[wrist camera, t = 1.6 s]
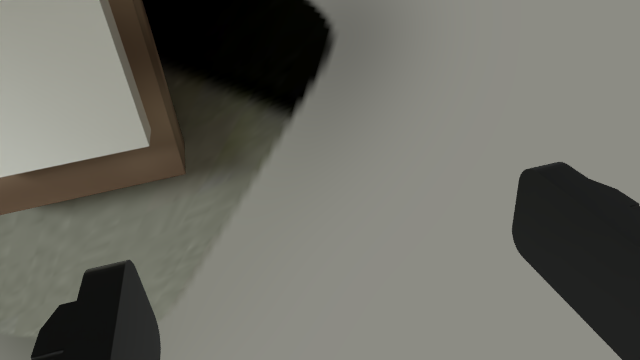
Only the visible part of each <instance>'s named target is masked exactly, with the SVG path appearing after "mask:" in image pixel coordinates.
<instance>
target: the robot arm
mask: <svg viewBox="0 0 640 360" xmlns="http://www.w3.org/2000/svg"><path fill="white" fill-rule="evenodd" d="M512 234H513V240H514V243H515V245H516V248H517V250H518V251H519V253H520V254H521V256H523V258H524V259H525V260H526V261H527V262H528V263H529V264H530V265H531V266H532V267H533V268H534V269H535V270H536V271H537V272H538V273H539V274H540V275H541V276H542V277H543V278H544V279H545V280H546V281H547V283H548V284H550V286H551V287H552V288H553V289H554V290H555V291H556V292H557V293H558V294H559V295H560V296H561V297H562V298H563V299H564V300H565V301H566V302H567V303H568V304H569V305H570V306H571V307H572V308H573V309H574V310H575V311H576V312H577V313H578V314H579V315H580V316H581V318H583V320H584V321H586V323H587V324H588V325H589V326H590V327H591V328H592V329H593V330H594V331H595V332H596V333H597V334H598V335H599V336H600V337H601V338H602V339H603V340H604V341H605V342H606V343H607V344H608V345H609V346H610V347H611V348H612V349H613V351H614V352H615V353H616V354H617V355H618V356H619V357H620V358H621V359H622V360H640V206H639V203H637V202H636V201H634V200H633V199H631V198H629V197H628V196H626V195H625V194H623V193H622V192H620V191H619V190H617V189H615V188H612V187H609V186H607V185H604V184H601V183H598V182H596V181H593V180H591V179H588V178H587V177H585V176H584V175H582V174H581V173H579V172H578V171H576V170H575V169H573V168H572V167H570V166H569V165H567V164H565V163H563V162H557V163H552V164H548V165H543V166H539V167H534V168H530V169H526V170H524V171H523V172H522V174H521V176H520V178H519V184H518V191H517V198H516V205H515V212H514V219H513V225H512ZM160 348H161V347H160V335H159V329H158V325H157V321H156V318H155V315H154V313H153V310H152V308H151V305H150V303H149V300H148V298H147V295H146V293H145V290H144V288H143V285H142V283H141V280H140V278H139V275H138V273H137V270H136V268H135V266H134V264H133V263H132V261H131V260H126V261H122V262H117V263H113V264H109V265H104V266H100V267H96V268H91V269H87V270H86V271H85V273H84V275H83V279H82V283H81V287H80V290H79V294H78V298H77V301H74V302H70V303H66V304H61V305H59V307H58V308H57V309H56V310H55V312H54V313H53V314H52V315H51V317H50V318H49V319H48V320H47V322H46V323H45V324H44V326H43V327H42V328H41V329H40V331H39V334H38V337H37V340H36V343H35V346H34V349H33V352H32V355H31V359H32V360H160V350H161V349H160Z"/></svg>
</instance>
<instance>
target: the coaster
mask: <svg viewBox="0 0 640 360" xmlns="http://www.w3.org/2000/svg"><path fill="white" fill-rule="evenodd" d="M150 135H151V128H150V125H149V122H148V119H147V116H146V113H145V110H144V107H143V104H142V101H141V98H140V95H139V92H138V89H137V86H136V83H135V80H134V77H133V74H132V71H131V68H130V65H129V62H128V59H127V56H126V53H125V50H124V47H123V44H122V41H121V38H120V35H119V32H118V29H117V26H116V23H115V20H114V17H113V14H112V11H111V7H110V4H109V1H108V0H0V177H5V176H10V175H15V174H19V173H24V172H29V171H34V170H38V169H43V168H48V167H53V166H58V165H62V164H67V163H72V162H77V161H81V160H86V159H91V158H96V157H101V156H105V155H110V154H115V153H120V152H124V151H129V150H134V149H139V148H144V147H148V146H149V145H150Z"/></svg>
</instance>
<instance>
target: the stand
mask: <svg viewBox="0 0 640 360" xmlns="http://www.w3.org/2000/svg"><path fill="white" fill-rule="evenodd" d="M108 1H109V4H110V7H111V11H112V14H113V17H114V20H115V23H116V26H117V29H118V32H119V35H120V38H121V41H122V44H123V47H124V50H125V53H126V56H127V59H128V62H129V65H130V68H131V71H132V74H133V77H134V80H135V83H136V86H137V89H138V92H139V95H140V98H141V101H142V104H143V107H144V110H145V113H146V116H147V119H148V122H149V125H150V128H151V135H150V145H149V146H148V147H144V148H139V149H134V150H129V151H124V152H120V153H115V154H110V155H105V156H101V157H96V158H91V159H86V160H81V161H77V162H72V163H67V164H62V165H58V166H53V167H48V168H43V169H38V170H34V171H29V172H24V173H19V174H15V175H10V176H5V177H0V215H3V214H7V213H12V212H16V211H21V210H25V209H30V208H34V207H39V206H43V205H48V204H52V203H57V202H61V201H66V200H71V199H75V198H80V197H84V196H89V195H93V194H98V193H102V192H107V191H111V190H116V189H120V188H125V187H129V186H134V185H138V184H143V183H147V182H152V181H156V180H161V179H166V178H170V177H175V176H179V175H184V174H186V172H185V145H184V140H183V136H182V133H181V130H180V126H179V123H178V120H177V116H176V113H175V109H174V106H173V103H172V99H171V96H170V93H169V89H168V86H167V82H166V79H165V76H164V72H163V69H162V65H161V62H160V59H159V55H158V52H157V49H156V45H155V42H154V38H153V35H152V32H151V28H150V25H149V22H148V18H147V15H146V11H145V8H144V5H143V1H142V0H108Z"/></svg>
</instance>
